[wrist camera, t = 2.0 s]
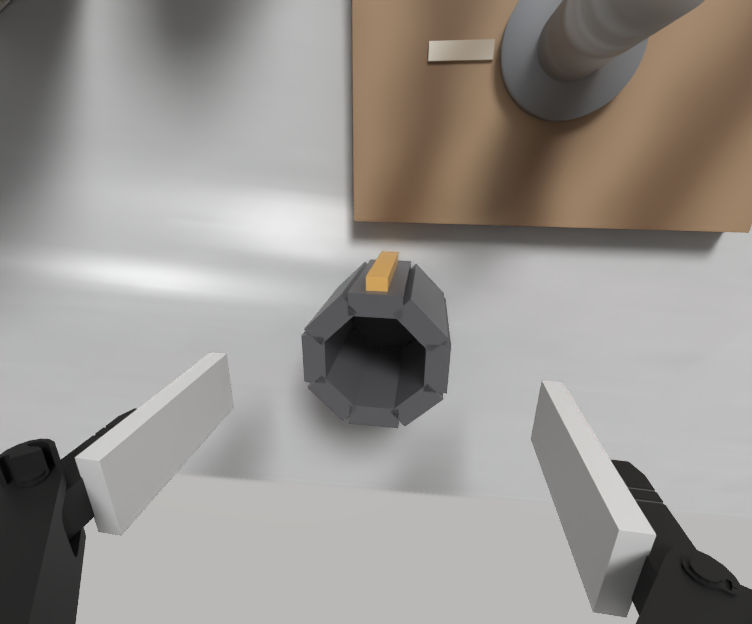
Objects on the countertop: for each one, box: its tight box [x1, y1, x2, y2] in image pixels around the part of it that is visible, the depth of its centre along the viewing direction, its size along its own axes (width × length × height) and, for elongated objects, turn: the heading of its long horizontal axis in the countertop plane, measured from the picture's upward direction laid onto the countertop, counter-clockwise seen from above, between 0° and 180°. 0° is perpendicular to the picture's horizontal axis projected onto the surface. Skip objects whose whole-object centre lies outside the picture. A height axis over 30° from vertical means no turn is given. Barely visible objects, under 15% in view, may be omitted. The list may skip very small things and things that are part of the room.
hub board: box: [352, 0, 752, 233], centre depth 14 cm, size 20×16×10 cm
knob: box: [302, 251, 451, 428], centre depth 21 cm, size 7×8×7 cm
